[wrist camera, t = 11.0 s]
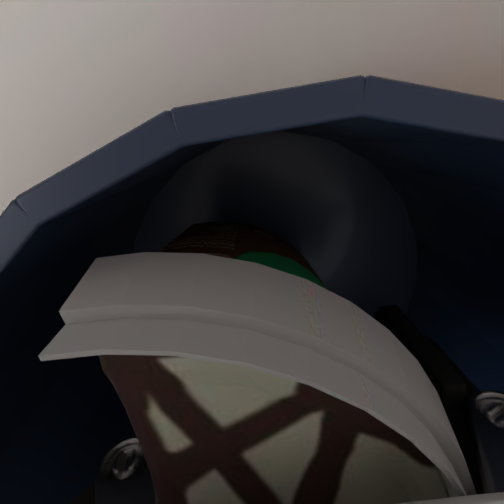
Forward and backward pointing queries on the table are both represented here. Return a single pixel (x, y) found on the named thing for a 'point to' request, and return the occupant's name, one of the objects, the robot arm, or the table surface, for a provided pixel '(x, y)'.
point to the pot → (264, 217)
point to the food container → (259, 377)
